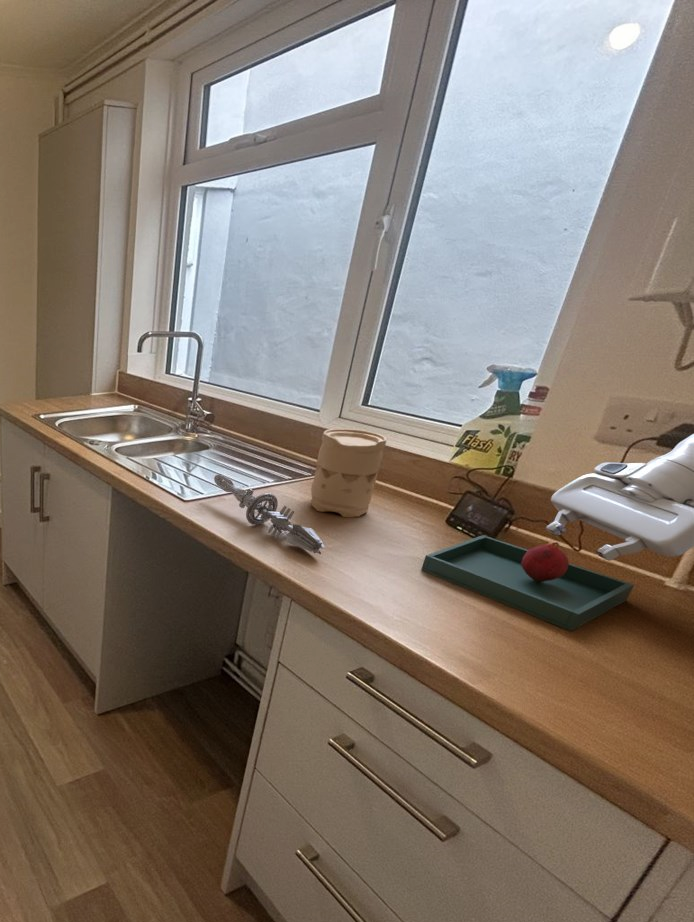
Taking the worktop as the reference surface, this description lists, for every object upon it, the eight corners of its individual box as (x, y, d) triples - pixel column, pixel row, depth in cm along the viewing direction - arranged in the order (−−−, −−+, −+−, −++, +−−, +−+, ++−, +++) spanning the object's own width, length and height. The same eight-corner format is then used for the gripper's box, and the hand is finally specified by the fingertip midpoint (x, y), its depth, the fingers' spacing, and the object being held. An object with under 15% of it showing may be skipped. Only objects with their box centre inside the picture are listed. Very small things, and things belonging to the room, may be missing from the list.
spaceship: (234, 466, 132) (211, 458, 129) (345, 537, 102) (319, 528, 99) (217, 494, 135) (195, 486, 131) (322, 570, 105) (296, 563, 102)
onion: (547, 593, 90) (565, 551, 87) (507, 577, 95) (523, 537, 92) (566, 586, 92) (584, 545, 89) (526, 571, 97) (542, 532, 94)
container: (372, 520, 120) (392, 444, 113) (310, 513, 124) (327, 439, 118) (361, 501, 131) (380, 431, 124) (305, 495, 135) (320, 426, 128)
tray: (626, 600, 89) (634, 584, 88) (571, 631, 81) (578, 614, 80) (478, 548, 107) (483, 534, 106) (420, 569, 99) (425, 555, 98)
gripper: (746, 529, 77) (647, 586, 81) (609, 483, 96) (533, 531, 100) (729, 501, 76) (628, 560, 80) (593, 459, 94) (517, 509, 99)
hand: (575, 543), depth 90 cm, fingers open, 8 cm apart
